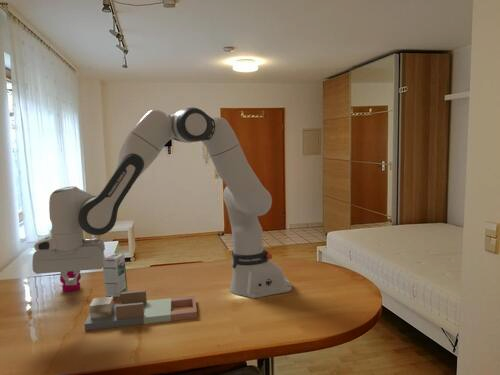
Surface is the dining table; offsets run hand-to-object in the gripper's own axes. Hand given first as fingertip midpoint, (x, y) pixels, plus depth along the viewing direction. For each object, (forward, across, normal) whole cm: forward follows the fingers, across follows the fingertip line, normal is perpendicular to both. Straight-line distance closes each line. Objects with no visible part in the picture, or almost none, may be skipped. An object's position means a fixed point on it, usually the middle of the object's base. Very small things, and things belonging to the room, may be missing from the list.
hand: (71, 284), depth 122 cm
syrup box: (+12, -10, -21) cm, 26 cm away
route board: (+12, -22, 0) cm, 25 cm away
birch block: (+10, -8, 0) cm, 13 cm away
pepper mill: (+12, +8, -31) cm, 35 cm away
